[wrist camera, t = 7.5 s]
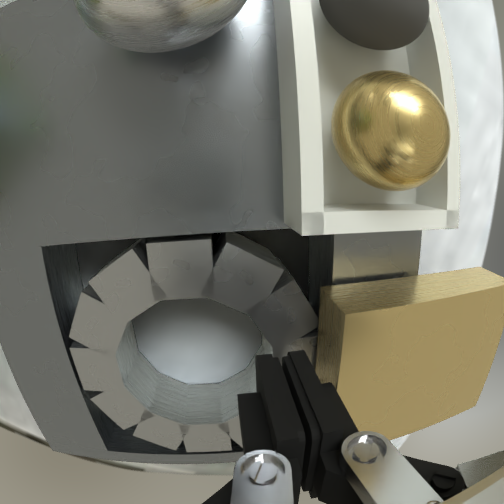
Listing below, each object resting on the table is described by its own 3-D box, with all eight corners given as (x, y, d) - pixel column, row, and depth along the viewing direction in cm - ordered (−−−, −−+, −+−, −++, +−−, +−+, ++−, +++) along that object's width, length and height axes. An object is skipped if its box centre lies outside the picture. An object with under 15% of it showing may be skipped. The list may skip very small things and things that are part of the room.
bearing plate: (16, 34, 9) (-14, 15, 6) (368, 5, 11) (396, -21, 8) (68, 417, 15) (52, 450, 12) (362, 402, 17) (382, 434, 14)
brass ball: (311, 80, 9) (357, 42, 5) (403, 93, 9) (467, 72, 6) (316, 187, 10) (367, 196, 6) (407, 188, 10) (475, 198, 7)
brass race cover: (320, 286, 11) (345, 314, 8) (479, 266, 11) (514, 282, 9) (310, 420, 12) (325, 457, 10) (451, 382, 13) (475, 405, 11)
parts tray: (269, -40, 8) (280, -73, 6) (397, -15, 8) (424, -36, 6) (283, 222, 10) (301, 236, 8) (421, 218, 11) (457, 228, 9)
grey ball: (301, -22, 8) (331, -78, 4) (387, -5, 8) (435, -44, 5) (310, 56, 9) (352, 10, 5) (401, 70, 9) (462, 44, 6)
